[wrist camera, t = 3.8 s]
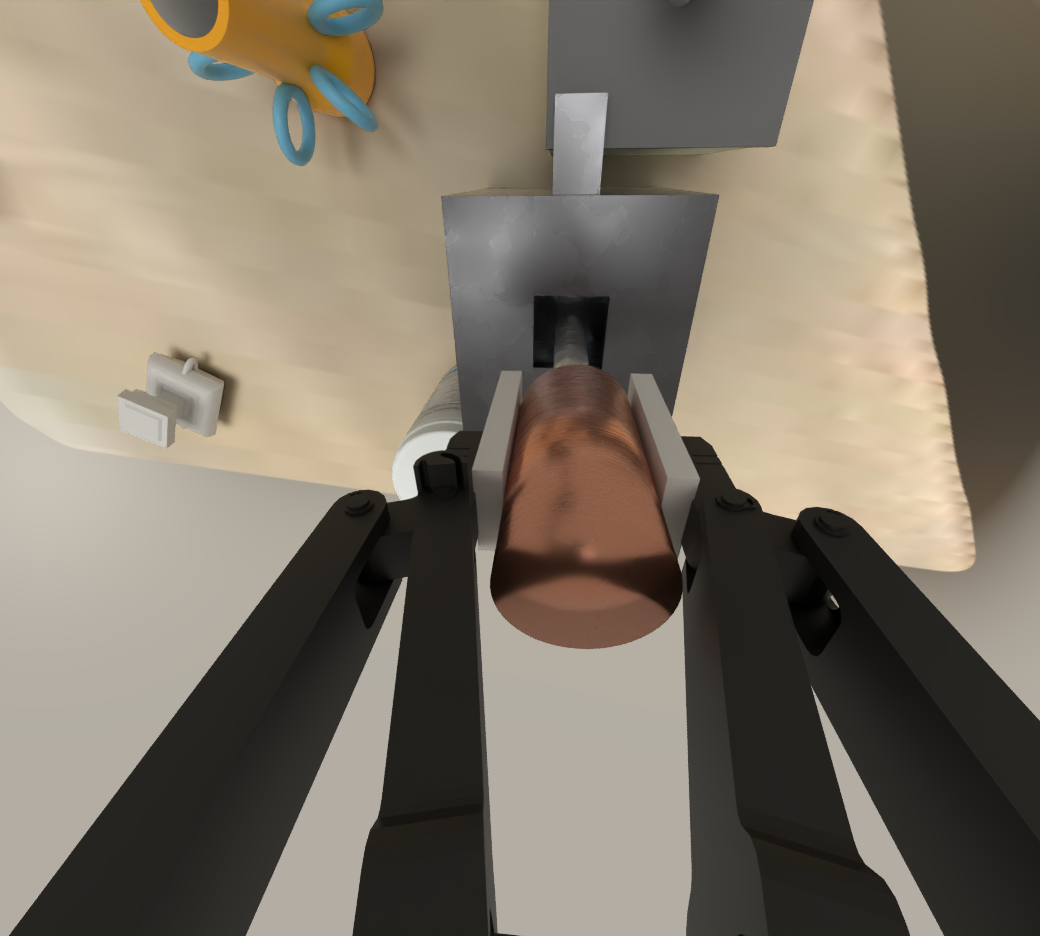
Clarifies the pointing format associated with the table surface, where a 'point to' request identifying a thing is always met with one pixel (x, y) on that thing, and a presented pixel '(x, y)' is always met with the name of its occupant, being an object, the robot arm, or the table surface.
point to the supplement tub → (428, 433)
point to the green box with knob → (678, 70)
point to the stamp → (171, 401)
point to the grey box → (573, 269)
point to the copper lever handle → (582, 513)
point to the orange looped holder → (282, 54)
